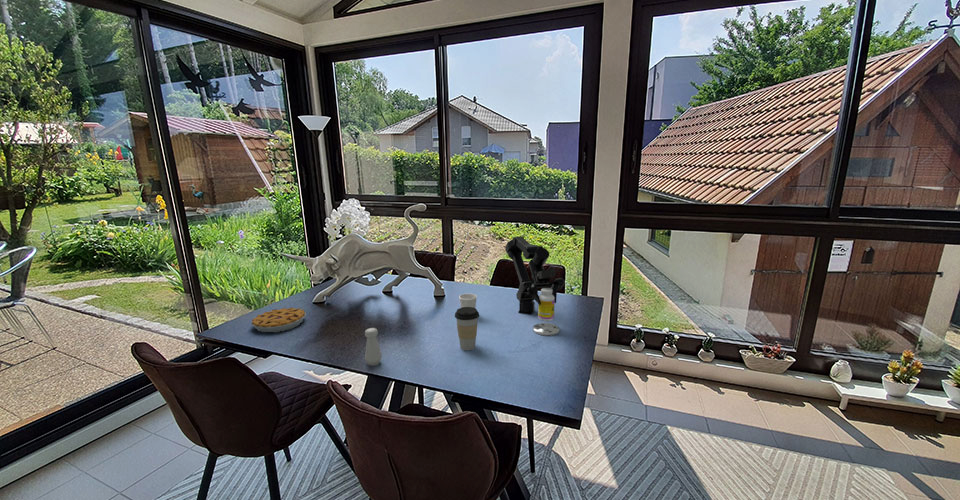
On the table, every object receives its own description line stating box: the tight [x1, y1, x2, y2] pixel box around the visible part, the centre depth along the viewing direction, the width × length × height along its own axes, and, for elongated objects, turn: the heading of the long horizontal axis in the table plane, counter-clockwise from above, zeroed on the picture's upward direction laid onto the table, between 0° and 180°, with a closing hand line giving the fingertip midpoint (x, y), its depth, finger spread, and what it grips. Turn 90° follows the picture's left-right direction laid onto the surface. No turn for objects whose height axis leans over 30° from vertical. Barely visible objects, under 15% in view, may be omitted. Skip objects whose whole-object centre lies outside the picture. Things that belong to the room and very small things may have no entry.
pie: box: [250, 307, 307, 333], centre depth 176 cm, size 22×22×5 cm
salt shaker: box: [364, 327, 382, 367], centre depth 138 cm, size 6×6×13 cm
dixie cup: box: [458, 293, 478, 308], centre depth 180 cm, size 8×8×10 cm
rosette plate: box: [532, 322, 560, 337], centre depth 164 cm, size 11×11×1 cm
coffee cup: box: [454, 307, 480, 351], centre depth 149 cm, size 9×9×15 cm
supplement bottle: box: [537, 287, 555, 322], centre depth 162 cm, size 7×7×13 cm
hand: (547, 303), depth 160 cm, fingers closed on supplement bottle, 7 cm apart
